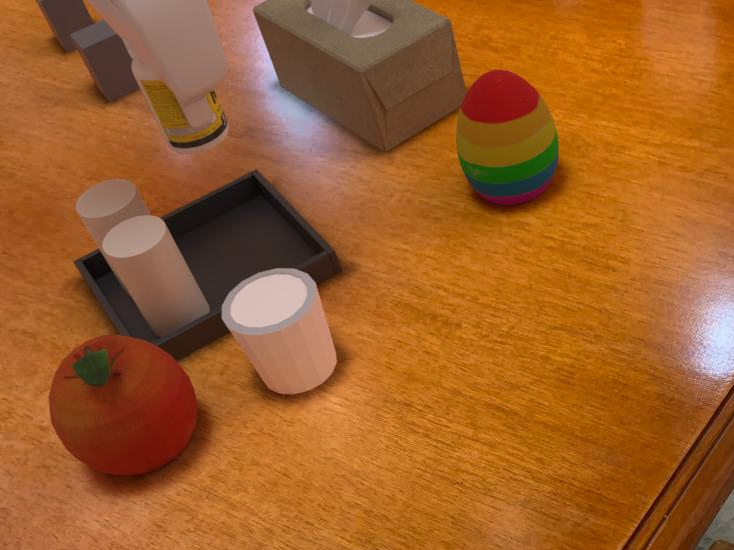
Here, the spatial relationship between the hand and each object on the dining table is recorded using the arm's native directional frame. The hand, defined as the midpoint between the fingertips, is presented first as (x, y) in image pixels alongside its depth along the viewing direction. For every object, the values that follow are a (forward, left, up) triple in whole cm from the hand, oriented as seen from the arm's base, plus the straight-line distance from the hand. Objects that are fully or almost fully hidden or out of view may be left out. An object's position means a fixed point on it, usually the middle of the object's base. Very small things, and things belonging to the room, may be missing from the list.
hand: (184, 104), depth 75 cm
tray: (-4, 0, -14) cm, 14 cm away
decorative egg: (+21, -8, -14) cm, 27 cm away
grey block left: (+1, +50, -14) cm, 52 cm away
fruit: (-15, -14, -14) cm, 25 cm away
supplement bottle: (0, 0, -3) cm, 3 cm away
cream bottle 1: (-8, +3, -13) cm, 16 cm away
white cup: (-3, -15, -14) cm, 21 cm away
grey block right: (+1, +36, -14) cm, 39 cm away
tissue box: (+19, +14, -14) cm, 27 cm away
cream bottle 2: (-8, -3, -13) cm, 16 cm away
